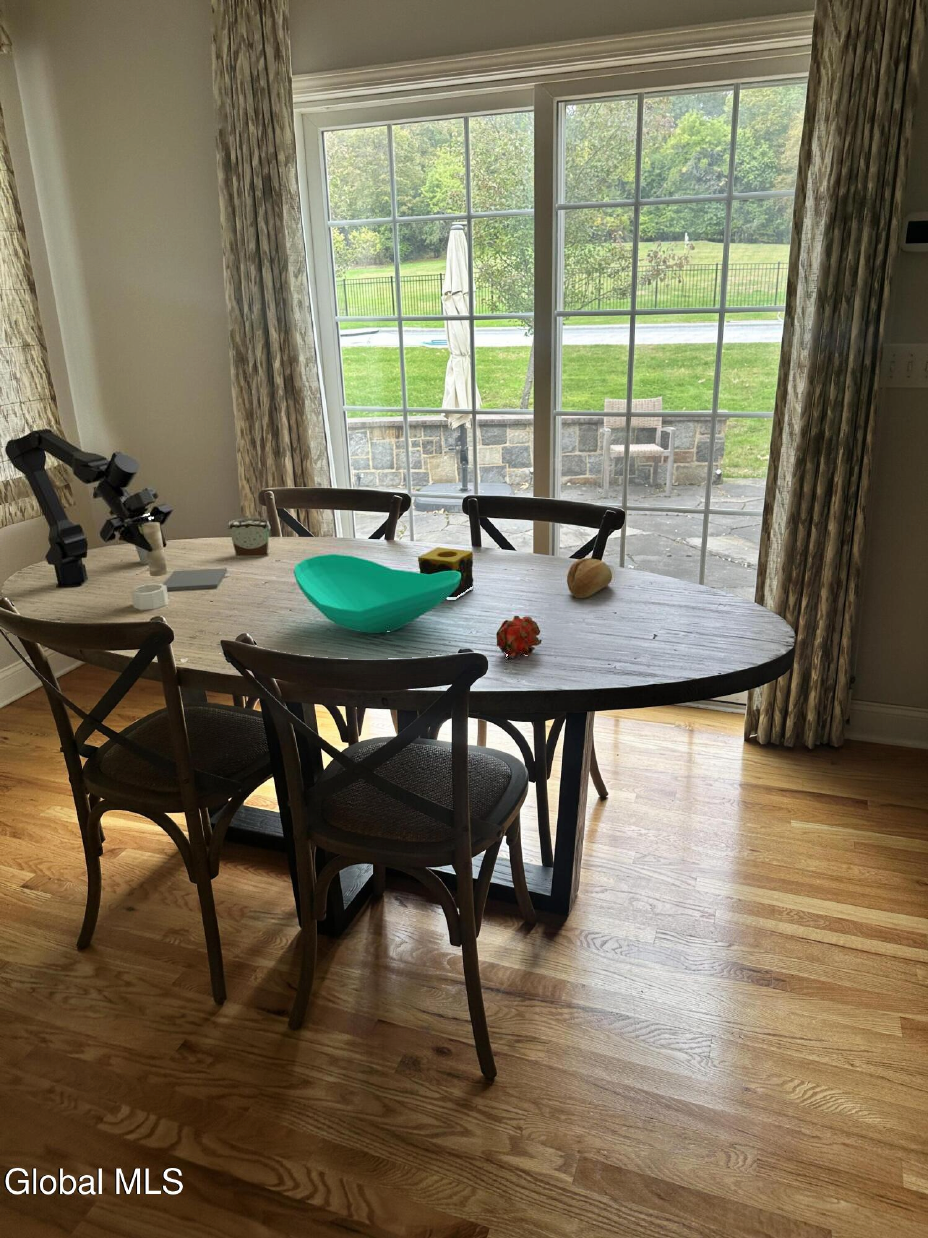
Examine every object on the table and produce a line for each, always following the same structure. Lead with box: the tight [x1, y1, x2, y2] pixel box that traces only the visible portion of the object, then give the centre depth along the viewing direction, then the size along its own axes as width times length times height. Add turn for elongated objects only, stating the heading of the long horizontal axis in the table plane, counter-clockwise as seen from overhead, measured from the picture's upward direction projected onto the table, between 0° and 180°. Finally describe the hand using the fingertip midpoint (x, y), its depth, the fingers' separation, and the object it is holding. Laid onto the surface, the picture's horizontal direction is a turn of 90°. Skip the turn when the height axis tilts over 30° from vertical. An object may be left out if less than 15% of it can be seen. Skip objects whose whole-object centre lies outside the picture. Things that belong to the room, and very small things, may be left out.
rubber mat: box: [162, 567, 228, 592], centre depth 225 cm, size 14×14×1 cm
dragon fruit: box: [495, 615, 542, 659], centre depth 171 cm, size 8×8×12 cm
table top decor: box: [293, 553, 461, 634], centre depth 187 cm, size 40×28×13 cm
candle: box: [417, 546, 474, 597], centre depth 208 cm, size 10×10×10 cm
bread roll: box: [566, 557, 613, 599], centre depth 205 cm, size 10×15×8 cm, turn 150°
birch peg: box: [142, 522, 168, 577], centre depth 207 cm, size 4×4×12 cm
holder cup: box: [130, 582, 170, 611], centre depth 208 cm, size 8×8×4 cm
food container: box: [227, 517, 271, 557], centre depth 246 cm, size 12×6×10 cm, turn 84°
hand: (158, 548), depth 206 cm, fingers closed on birch peg, 4 cm apart
